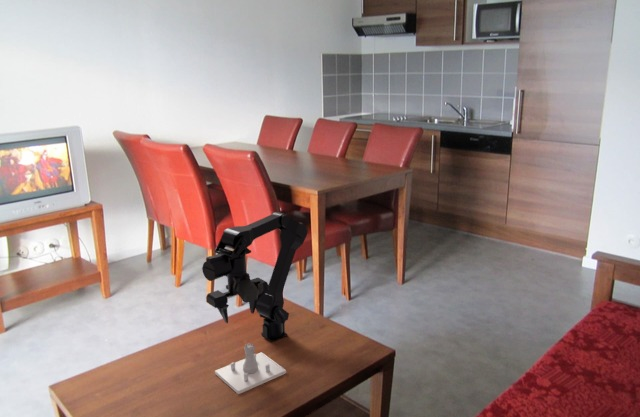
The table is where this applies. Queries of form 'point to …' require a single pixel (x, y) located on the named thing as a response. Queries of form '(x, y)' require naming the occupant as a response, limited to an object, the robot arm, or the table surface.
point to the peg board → (245, 381)
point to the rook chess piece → (250, 360)
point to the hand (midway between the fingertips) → (239, 317)
